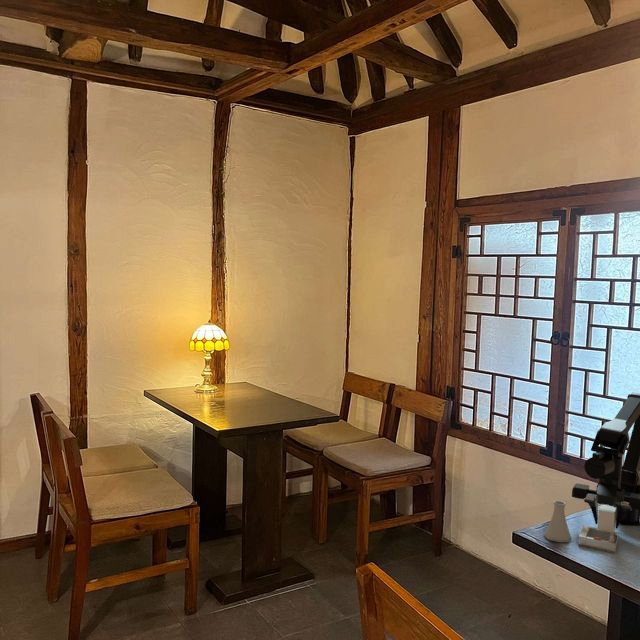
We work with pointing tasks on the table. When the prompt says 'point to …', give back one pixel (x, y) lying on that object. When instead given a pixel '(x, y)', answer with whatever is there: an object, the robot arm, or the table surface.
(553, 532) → the flask
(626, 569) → the table surface
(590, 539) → the socket
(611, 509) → the plug
